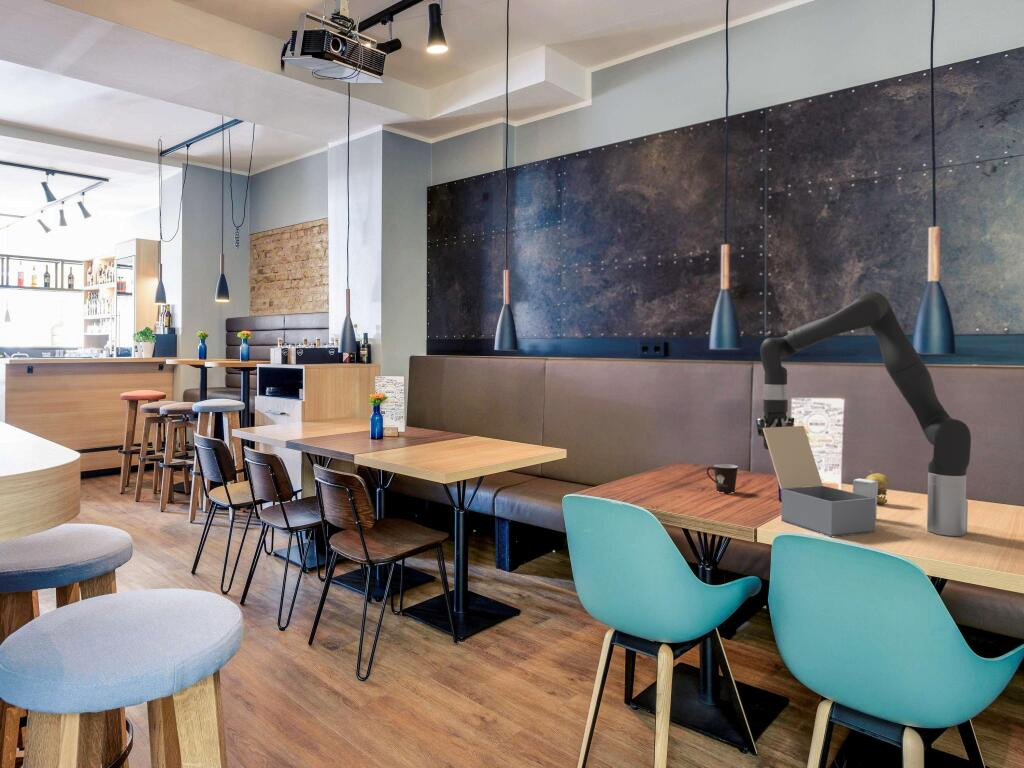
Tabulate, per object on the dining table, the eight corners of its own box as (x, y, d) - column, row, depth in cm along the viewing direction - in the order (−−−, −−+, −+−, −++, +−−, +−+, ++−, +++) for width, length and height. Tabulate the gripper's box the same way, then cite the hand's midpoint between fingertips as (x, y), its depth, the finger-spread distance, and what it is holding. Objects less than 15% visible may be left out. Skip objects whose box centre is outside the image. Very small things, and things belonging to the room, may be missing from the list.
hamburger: (893, 505, 226) (894, 470, 225) (878, 507, 223) (878, 472, 222) (873, 501, 233) (874, 467, 232) (858, 502, 230) (859, 468, 230)
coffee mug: (742, 493, 246) (742, 467, 246) (722, 495, 244) (722, 468, 243) (724, 488, 257) (724, 462, 257) (704, 489, 255) (705, 463, 255)
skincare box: (851, 517, 209) (851, 479, 209) (857, 515, 212) (858, 477, 212) (871, 521, 204) (871, 482, 204) (877, 518, 207) (878, 480, 207)
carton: (822, 516, 210) (822, 485, 210) (874, 532, 191) (875, 498, 191) (781, 520, 205) (781, 489, 205) (831, 537, 186) (831, 502, 186)
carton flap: (822, 484, 210) (809, 490, 216) (803, 425, 217) (790, 432, 223) (781, 488, 205) (768, 493, 211) (763, 427, 212) (751, 434, 218)
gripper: (785, 396, 224) (784, 446, 225) (750, 397, 220) (749, 448, 220) (801, 398, 217) (800, 449, 218) (765, 399, 212) (764, 451, 213)
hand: (774, 448), depth 219 cm, fingers open, 5 cm apart
